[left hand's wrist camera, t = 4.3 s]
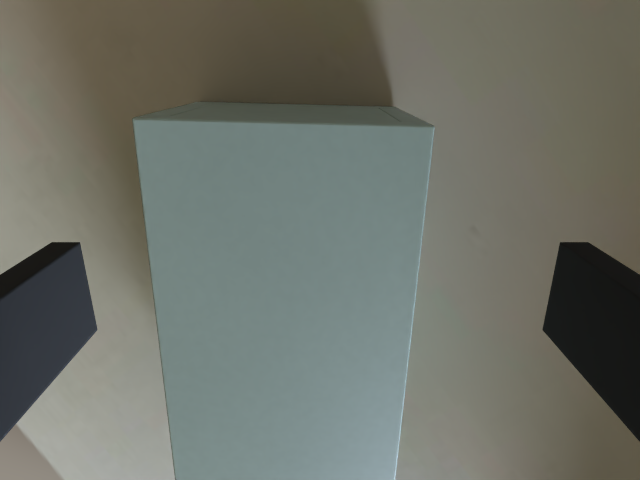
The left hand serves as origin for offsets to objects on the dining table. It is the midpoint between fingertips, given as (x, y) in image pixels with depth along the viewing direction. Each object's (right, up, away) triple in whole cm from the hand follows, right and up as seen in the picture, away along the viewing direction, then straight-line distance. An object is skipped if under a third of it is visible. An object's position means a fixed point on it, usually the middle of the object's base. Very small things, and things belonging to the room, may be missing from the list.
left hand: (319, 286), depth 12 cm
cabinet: (-2, 0, +16) cm, 16 cm away
